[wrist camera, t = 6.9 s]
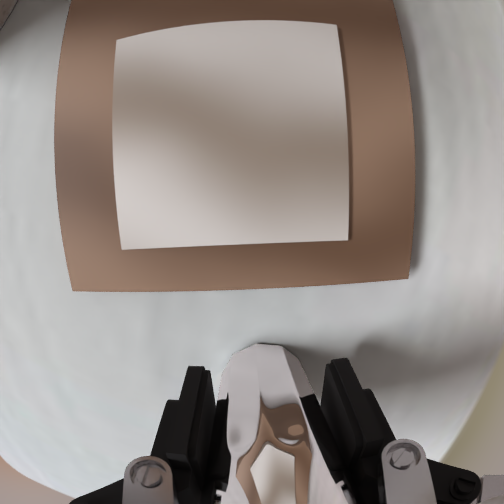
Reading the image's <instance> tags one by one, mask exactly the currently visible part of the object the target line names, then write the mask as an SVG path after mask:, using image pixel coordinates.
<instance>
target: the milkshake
mask: <svg viewBox="0 0 504 504" xmlns="http://www.w3.org/2000/svg"><path fill="white" fill-rule="evenodd" d="M199 504H366V502H365V500H364V498H363V496H362V494H361V492H360V490H359V488H358V486H357V484H356V482H355V480H354V478H353V476H352V474H351V472H350V470H349V468H348V466H347V464H346V462H345V460H344V458H343V456H342V454H341V452H340V449H339V447H338V445H337V443H336V441H335V438H334V436H333V434H332V432H331V429H330V427H329V425H328V423H327V420H326V418H325V416H324V414H323V412H322V409H321V407H320V405H319V403H318V400H317V398H316V396H315V394H314V392H313V389H312V387H311V385H310V383H309V381H308V378H307V376H306V374H305V372H304V369H303V367H302V365H301V363H300V361H299V359H298V358H297V357H295V356H294V355H293V354H291V353H290V352H289V351H287V350H286V349H285V348H284V347H282V346H281V345H265V344H254V345H251V346H249V347H247V348H245V349H243V350H241V351H238V352H236V353H234V354H232V356H231V358H230V360H229V361H228V363H227V365H226V367H225V369H224V370H223V372H222V376H221V382H220V387H219V393H218V399H217V405H216V411H215V417H214V422H213V428H212V434H211V440H210V446H209V452H208V459H207V465H206V471H205V477H204V482H203V487H202V492H201V497H200V502H199Z"/></svg>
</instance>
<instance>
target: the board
mask: <svg viewBox="0 0 504 504" xmlns="http://www.w3.org/2000/svg"><path fill="white" fill-rule="evenodd" d="M54 150H55V175H56V190H57V201H58V210H59V218H60V226H61V233H62V240H63V246H64V251H65V257H66V262H67V267H68V272H69V277H70V281H71V286H72V290H73V291H92V292H162V291H211V290H242V289H266V288H286V287H304V286H321V285H336V284H350V283H364V282H376V281H388V280H400V279H408V277H409V269H410V260H411V251H412V240H413V227H414V209H415V142H414V125H413V112H412V102H411V93H410V85H409V77H408V70H407V64H406V58H405V53H404V47H403V42H402V37H401V33H400V28H399V24H398V20H397V16H396V12H395V8H394V4H393V0H71V4H70V8H69V12H68V16H67V21H66V25H65V30H64V36H63V41H62V47H61V54H60V61H59V68H58V77H57V88H56V101H55V126H54Z"/></svg>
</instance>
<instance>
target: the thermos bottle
mask: <svg viewBox="0 0 504 504" xmlns="http://www.w3.org/2000/svg"><path fill="white" fill-rule="evenodd" d="M17 1H18V0H0V29H1V27H2V26H3V24H4V23H5V21H6V20H7V18H8V16H9V15H10V13H11V11H12V10H13V8H14V6H15V4H16V2H17Z"/></svg>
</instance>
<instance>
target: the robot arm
mask: <svg viewBox="0 0 504 504" xmlns="http://www.w3.org/2000/svg"><path fill="white" fill-rule="evenodd" d="M320 407H321V409H322V412H323V414H324V416H325V418H326V420H327V423H328V425H329V427H330V429H331V432H332V434H333V436H334V438H335V441H336V443H337V445H338V447H339V449H340V452H341V454H342V456H343V458H344V460H345V462H346V464H347V466H348V468H349V470H350V472H351V474H352V476H353V478H354V480H355V482H356V484H357V486H358V488H359V490H360V492H361V494H362V496H363V498H364V500H365V502H366V504H504V475H484V476H482V478H479V477H478V476H477V475H476V474H475V473H474V472H471V471H469V470H465V469H461V468H457V467H453V466H450V465H446V464H443V463H440V462H436V461H433V460H430V459H427V458H426V454H425V451H424V449H423V447H422V446H421V445H420V444H419V443H417V442H415V441H413V440H409V439H398V440H396V438H395V436H394V434H393V432H392V430H391V428H390V426H389V424H388V422H387V420H386V418H385V416H384V414H383V412H382V410H381V408H380V406H379V404H378V402H377V400H376V398H375V396H374V394H373V392H372V391H371V390H370V389H369V388H368V389H362V387H361V385H360V383H359V381H358V379H357V377H356V374H355V372H354V370H353V368H352V366H351V364H350V362H349V360H348V359H347V358H342V359H333V360H331V364H326V369H325V377H324V385H323V392H322V399H321V406H320ZM215 411H216V404H215V398H214V392H213V386H212V379H211V373H210V370H205V368H204V366H189V367H188V369H187V372H186V376H185V380H184V383H183V387H182V391H181V394H180V398H179V400H168V401H167V403H166V405H165V408H164V412H163V415H162V418H161V421H160V425H159V428H158V431H157V435H156V438H155V441H154V445H153V448H152V451H151V455H150V456H144V457H139V458H137V459H134V460H133V461H132V462H130V463H129V464H128V466H127V467H126V469H125V473H124V478H123V479H121V480H119V481H117V482H114V483H112V484H110V485H108V486H105V487H103V488H101V489H98V490H96V491H93V492H91V493H88V494H86V495H83V496H81V497H78V498H76V499H74V500H73V501H71V502H70V504H199V502H200V497H201V492H202V487H203V482H204V477H205V471H206V465H207V459H208V452H209V446H210V440H211V434H212V428H213V422H214V417H215Z"/></svg>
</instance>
